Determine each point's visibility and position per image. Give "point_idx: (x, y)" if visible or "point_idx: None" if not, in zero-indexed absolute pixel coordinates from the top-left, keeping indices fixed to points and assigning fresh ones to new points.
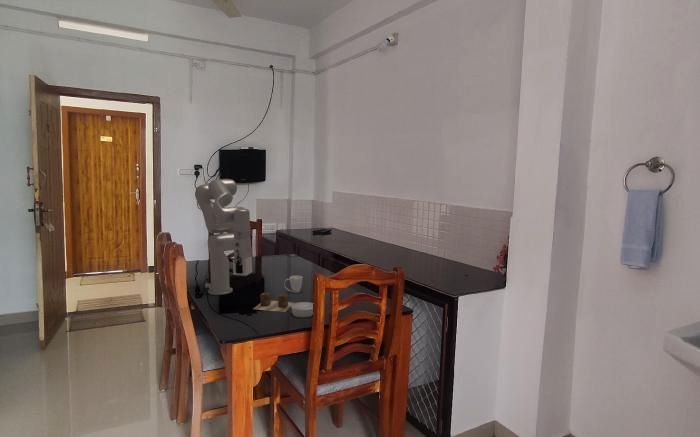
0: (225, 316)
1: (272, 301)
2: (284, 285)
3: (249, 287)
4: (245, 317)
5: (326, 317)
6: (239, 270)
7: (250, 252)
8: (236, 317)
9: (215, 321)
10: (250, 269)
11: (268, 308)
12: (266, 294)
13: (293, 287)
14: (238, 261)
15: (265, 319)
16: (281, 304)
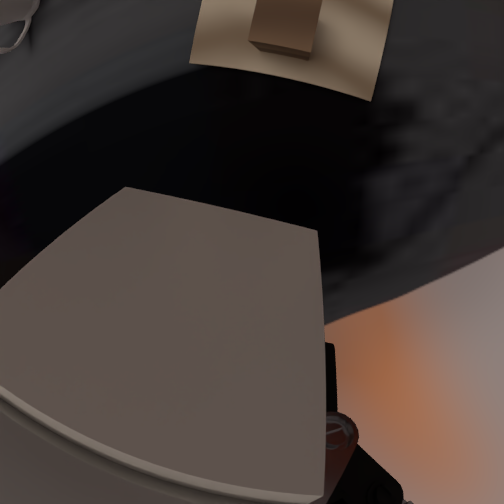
0: (414, 229)
1: (214, 12)
2: (9, 48)
3: (19, 218)
4: (440, 131)
5: None
6: (332, 357)
7: None
8: (435, 176)
9: (461, 256)
10: (149, 220)
11: (355, 12)
12: (301, 9)
13: (23, 3)
14: (388, 499)
15: (465, 35)
16: None
